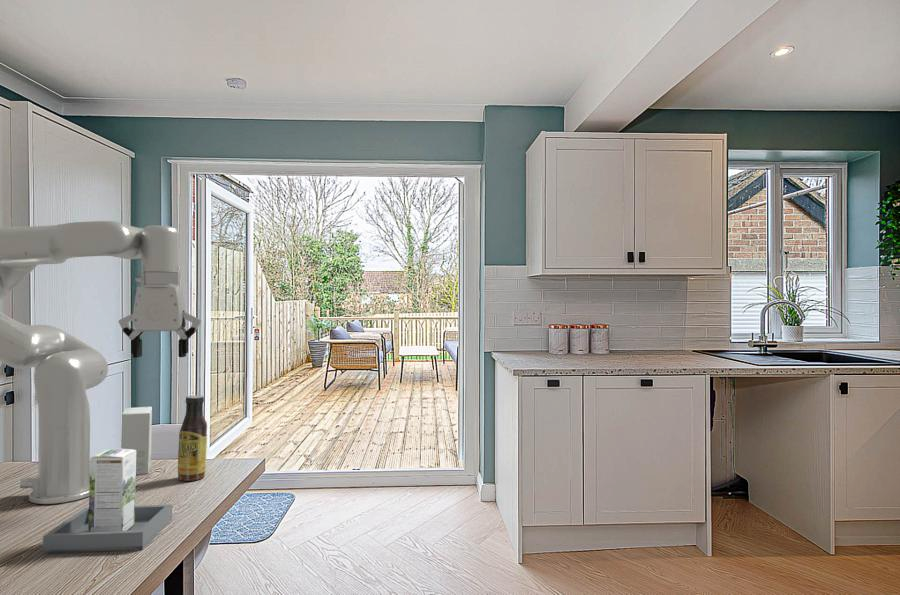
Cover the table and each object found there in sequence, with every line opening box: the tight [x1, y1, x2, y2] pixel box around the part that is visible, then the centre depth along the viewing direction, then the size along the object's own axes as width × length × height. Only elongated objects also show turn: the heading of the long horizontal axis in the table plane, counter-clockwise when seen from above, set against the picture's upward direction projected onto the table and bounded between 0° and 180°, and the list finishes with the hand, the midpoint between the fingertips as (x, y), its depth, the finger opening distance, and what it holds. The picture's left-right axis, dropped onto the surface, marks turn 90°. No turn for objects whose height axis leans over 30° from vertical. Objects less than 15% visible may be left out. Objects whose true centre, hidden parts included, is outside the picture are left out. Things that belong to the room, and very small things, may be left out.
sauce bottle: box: [177, 394, 208, 482], centre depth 142 cm, size 6×6×20 cm
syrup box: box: [88, 448, 137, 532], centre depth 107 cm, size 6×6×14 cm
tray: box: [42, 504, 173, 555], centre depth 107 cm, size 16×14×3 cm
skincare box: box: [120, 406, 153, 476], centre depth 148 cm, size 8×7×16 cm
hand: (160, 357), depth 132 cm, fingers open, 9 cm apart
